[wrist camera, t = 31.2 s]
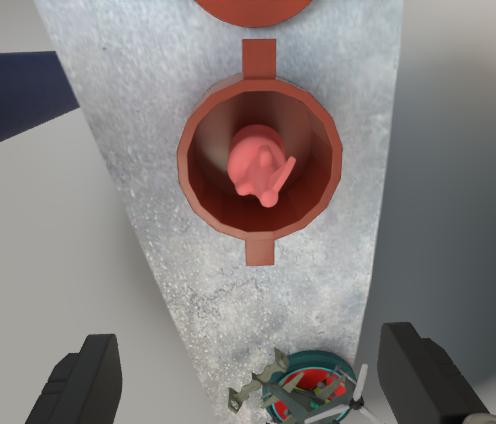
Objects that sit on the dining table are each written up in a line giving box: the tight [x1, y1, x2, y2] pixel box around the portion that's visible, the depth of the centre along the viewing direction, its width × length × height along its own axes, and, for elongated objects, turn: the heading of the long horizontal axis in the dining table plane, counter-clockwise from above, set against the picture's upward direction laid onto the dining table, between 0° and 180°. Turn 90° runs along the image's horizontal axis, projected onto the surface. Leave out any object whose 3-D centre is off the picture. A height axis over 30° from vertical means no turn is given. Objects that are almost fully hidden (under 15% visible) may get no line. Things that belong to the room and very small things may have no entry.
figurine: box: [227, 124, 296, 207], centre depth 34 cm, size 5×5×15 cm
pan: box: [177, 39, 343, 266], centre depth 37 cm, size 13×18×8 cm
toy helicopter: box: [228, 347, 385, 424], centre depth 48 cm, size 20×15×8 cm
